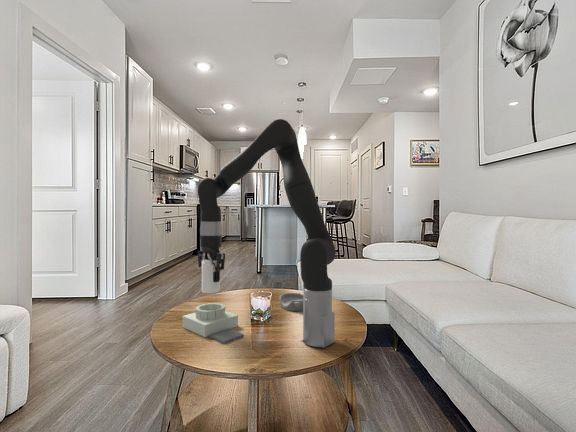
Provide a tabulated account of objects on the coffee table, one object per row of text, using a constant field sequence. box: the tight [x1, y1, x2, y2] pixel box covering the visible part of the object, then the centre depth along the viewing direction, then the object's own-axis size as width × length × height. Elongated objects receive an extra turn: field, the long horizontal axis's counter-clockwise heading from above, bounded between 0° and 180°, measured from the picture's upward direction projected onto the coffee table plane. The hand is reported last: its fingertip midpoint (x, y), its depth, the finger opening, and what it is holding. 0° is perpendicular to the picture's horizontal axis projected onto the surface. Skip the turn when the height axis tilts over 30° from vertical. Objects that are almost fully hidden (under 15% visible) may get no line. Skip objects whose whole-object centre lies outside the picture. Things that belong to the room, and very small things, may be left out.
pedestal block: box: [182, 302, 239, 338], centre depth 113 cm, size 14×14×7 cm
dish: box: [279, 292, 303, 312], centre depth 137 cm, size 14×14×5 cm
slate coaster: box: [208, 328, 245, 345], centre depth 103 cm, size 8×8×1 cm
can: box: [201, 259, 221, 295], centre depth 113 cm, size 6×6×12 cm
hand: (210, 280), depth 113 cm, fingers closed on can, 6 cm apart
